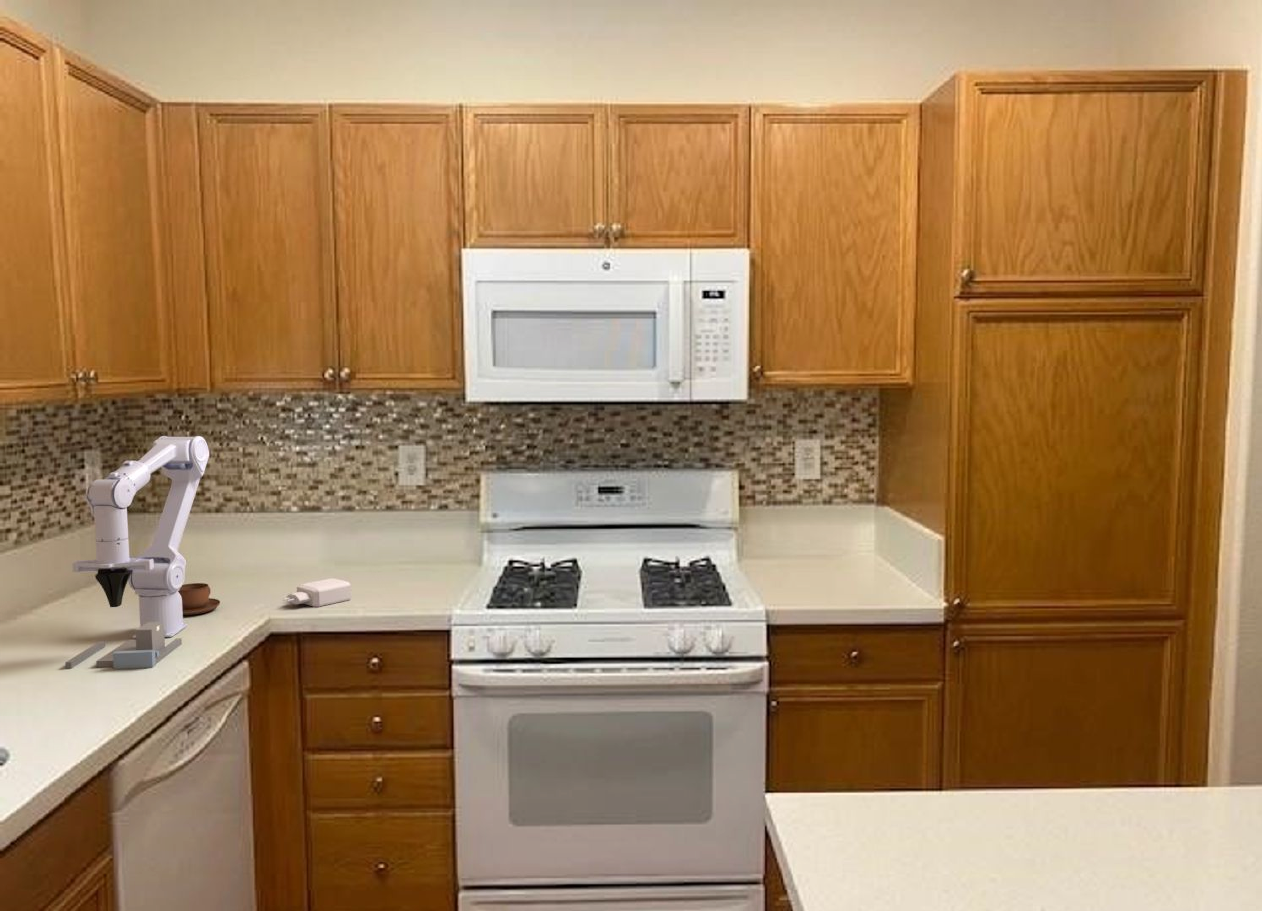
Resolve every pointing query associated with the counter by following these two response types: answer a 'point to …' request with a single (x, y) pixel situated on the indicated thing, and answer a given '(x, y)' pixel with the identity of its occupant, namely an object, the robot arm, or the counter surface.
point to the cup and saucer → (197, 599)
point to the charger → (321, 593)
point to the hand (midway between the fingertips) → (115, 606)
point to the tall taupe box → (150, 636)
